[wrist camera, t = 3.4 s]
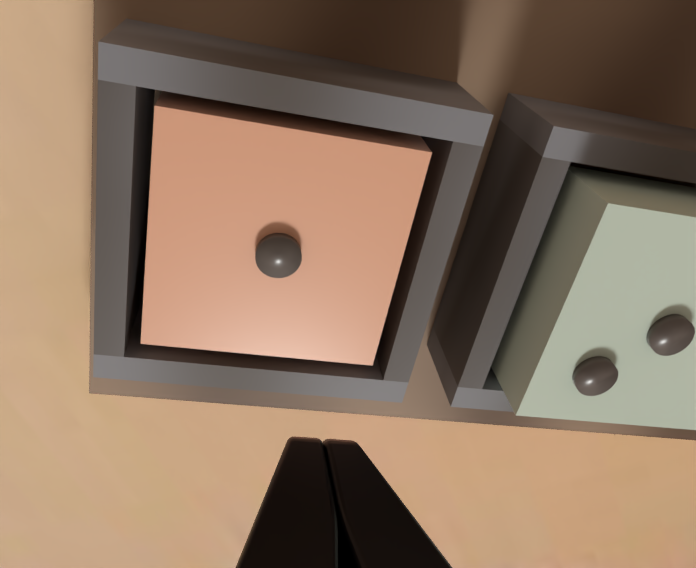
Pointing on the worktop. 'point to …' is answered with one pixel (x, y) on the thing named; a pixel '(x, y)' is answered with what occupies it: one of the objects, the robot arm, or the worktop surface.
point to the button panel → (439, 185)
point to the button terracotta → (274, 230)
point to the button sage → (608, 307)
